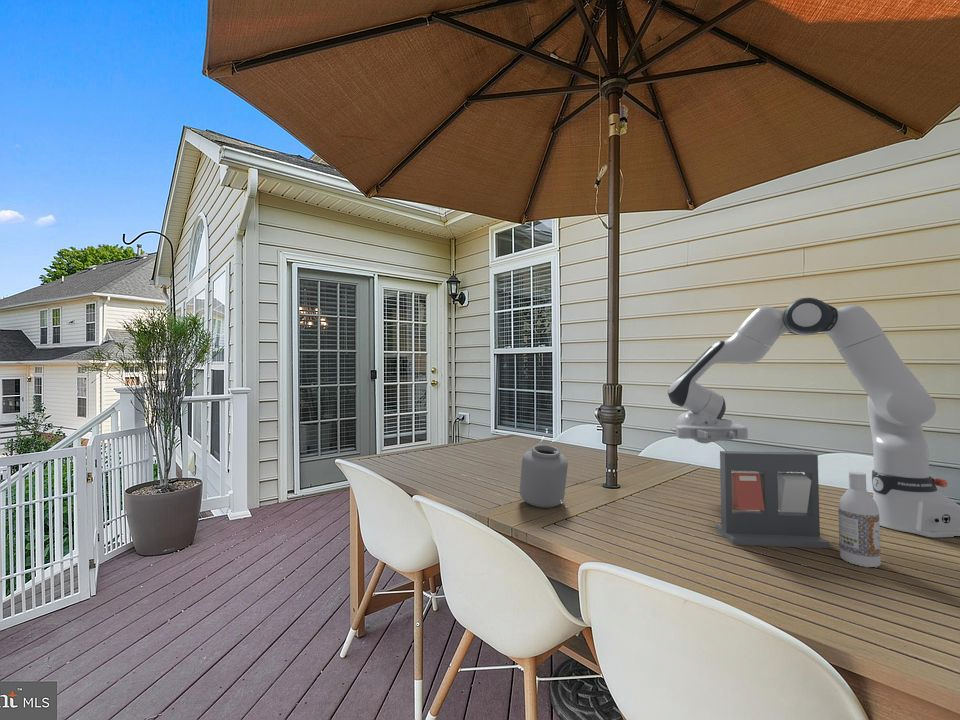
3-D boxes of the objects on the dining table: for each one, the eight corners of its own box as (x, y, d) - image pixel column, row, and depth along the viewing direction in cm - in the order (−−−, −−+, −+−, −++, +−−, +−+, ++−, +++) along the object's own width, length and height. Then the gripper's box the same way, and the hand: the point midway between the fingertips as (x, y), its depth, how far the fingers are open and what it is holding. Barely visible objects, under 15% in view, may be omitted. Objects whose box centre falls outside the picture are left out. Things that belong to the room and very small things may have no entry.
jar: (580, 510, 134) (579, 430, 135) (538, 516, 129) (537, 433, 130) (550, 494, 152) (549, 423, 152) (512, 499, 147) (511, 425, 147)
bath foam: (875, 571, 92) (872, 478, 93) (835, 559, 98) (832, 472, 99) (885, 563, 96) (882, 473, 97) (846, 552, 102) (843, 468, 103)
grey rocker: (797, 504, 113) (801, 472, 111) (806, 512, 109) (811, 480, 107) (772, 503, 114) (776, 472, 112) (781, 511, 110) (785, 479, 108)
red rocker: (756, 509, 112) (751, 473, 115) (765, 510, 108) (759, 473, 111) (732, 508, 113) (727, 473, 115) (739, 509, 109) (734, 472, 111)
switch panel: (804, 532, 114) (802, 449, 115) (829, 548, 105) (826, 457, 105) (716, 529, 117) (714, 448, 118) (732, 544, 107) (730, 456, 108)
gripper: (669, 419, 142) (683, 424, 129) (735, 419, 140) (756, 425, 126) (669, 438, 142) (683, 445, 128) (735, 439, 139) (757, 447, 126)
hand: (720, 435), depth 127 cm, fingers open, 5 cm apart
